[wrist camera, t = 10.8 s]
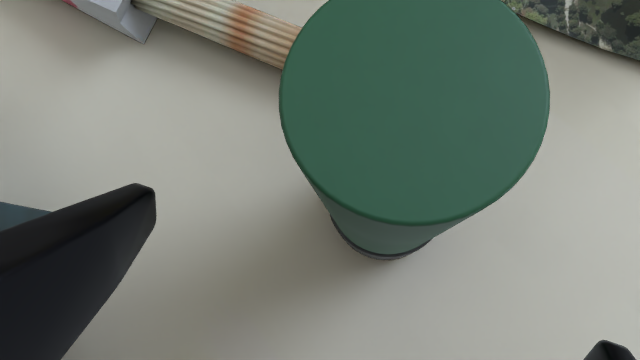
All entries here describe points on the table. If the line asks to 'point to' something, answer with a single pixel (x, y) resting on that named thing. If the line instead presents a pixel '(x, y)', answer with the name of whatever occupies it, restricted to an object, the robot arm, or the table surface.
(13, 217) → the drawer
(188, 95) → the table surface
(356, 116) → the green cylinder
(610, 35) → the green patterned tile
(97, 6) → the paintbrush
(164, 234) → the table surface
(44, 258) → the robot arm
